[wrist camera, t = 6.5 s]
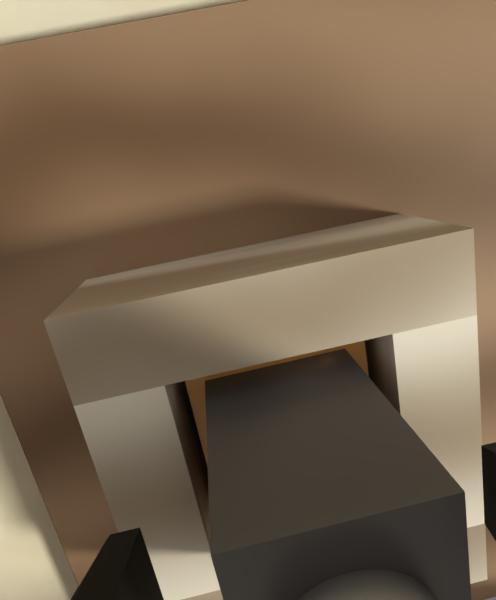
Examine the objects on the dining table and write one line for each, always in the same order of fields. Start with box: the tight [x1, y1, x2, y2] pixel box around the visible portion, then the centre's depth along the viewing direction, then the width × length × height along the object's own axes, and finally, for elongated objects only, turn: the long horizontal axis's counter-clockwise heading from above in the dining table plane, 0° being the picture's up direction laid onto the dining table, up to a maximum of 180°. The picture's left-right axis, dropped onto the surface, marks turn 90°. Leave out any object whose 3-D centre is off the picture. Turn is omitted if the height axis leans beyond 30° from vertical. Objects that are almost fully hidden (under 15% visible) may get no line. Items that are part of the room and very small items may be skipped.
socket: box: [0, 0, 496, 600], centre depth 13 cm, size 22×16×5 cm
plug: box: [205, 349, 471, 600], centre depth 9 cm, size 4×4×6 cm
